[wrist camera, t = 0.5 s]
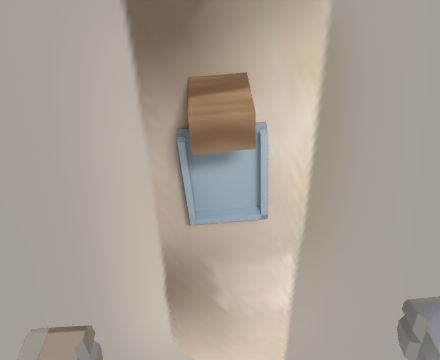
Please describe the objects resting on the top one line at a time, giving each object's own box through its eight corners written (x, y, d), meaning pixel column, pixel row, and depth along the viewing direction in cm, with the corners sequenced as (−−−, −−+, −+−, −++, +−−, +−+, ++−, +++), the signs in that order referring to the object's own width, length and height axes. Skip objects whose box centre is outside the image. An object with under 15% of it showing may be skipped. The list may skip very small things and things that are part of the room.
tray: (177, 129, 46) (176, 139, 45) (265, 122, 46) (268, 131, 45) (190, 214, 55) (190, 225, 53) (265, 208, 55) (267, 218, 53)
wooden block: (188, 77, 43) (187, 117, 36) (246, 72, 42) (255, 112, 36) (192, 111, 45) (192, 154, 39) (247, 106, 45) (255, 148, 39)
